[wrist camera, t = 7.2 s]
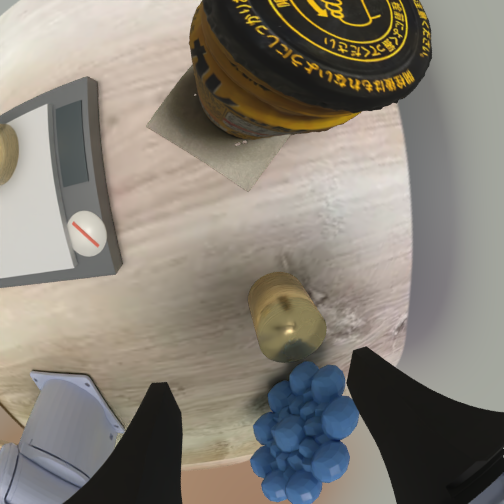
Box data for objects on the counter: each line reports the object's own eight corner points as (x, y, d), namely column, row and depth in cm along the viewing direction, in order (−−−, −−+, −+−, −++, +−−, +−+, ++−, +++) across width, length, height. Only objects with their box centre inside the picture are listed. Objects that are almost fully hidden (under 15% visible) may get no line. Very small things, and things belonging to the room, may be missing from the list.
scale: (124, 263, 17) (114, 278, 15) (4, 279, 15) (-9, 292, 13) (98, 81, 12) (84, 73, 10) (-24, 137, 11) (-41, 139, 9)
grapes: (279, 423, 26) (307, 516, 15) (225, 411, 23) (241, 521, 12) (354, 352, 23) (417, 453, 12) (301, 329, 21) (365, 460, 10)
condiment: (326, 87, 15) (481, 41, 4) (247, 191, 16) (329, 290, 5) (232, 22, 12) (275, -118, 1) (147, 127, 14) (20, 96, 3)
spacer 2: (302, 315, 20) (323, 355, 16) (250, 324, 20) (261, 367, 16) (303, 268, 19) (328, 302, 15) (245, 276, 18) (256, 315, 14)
